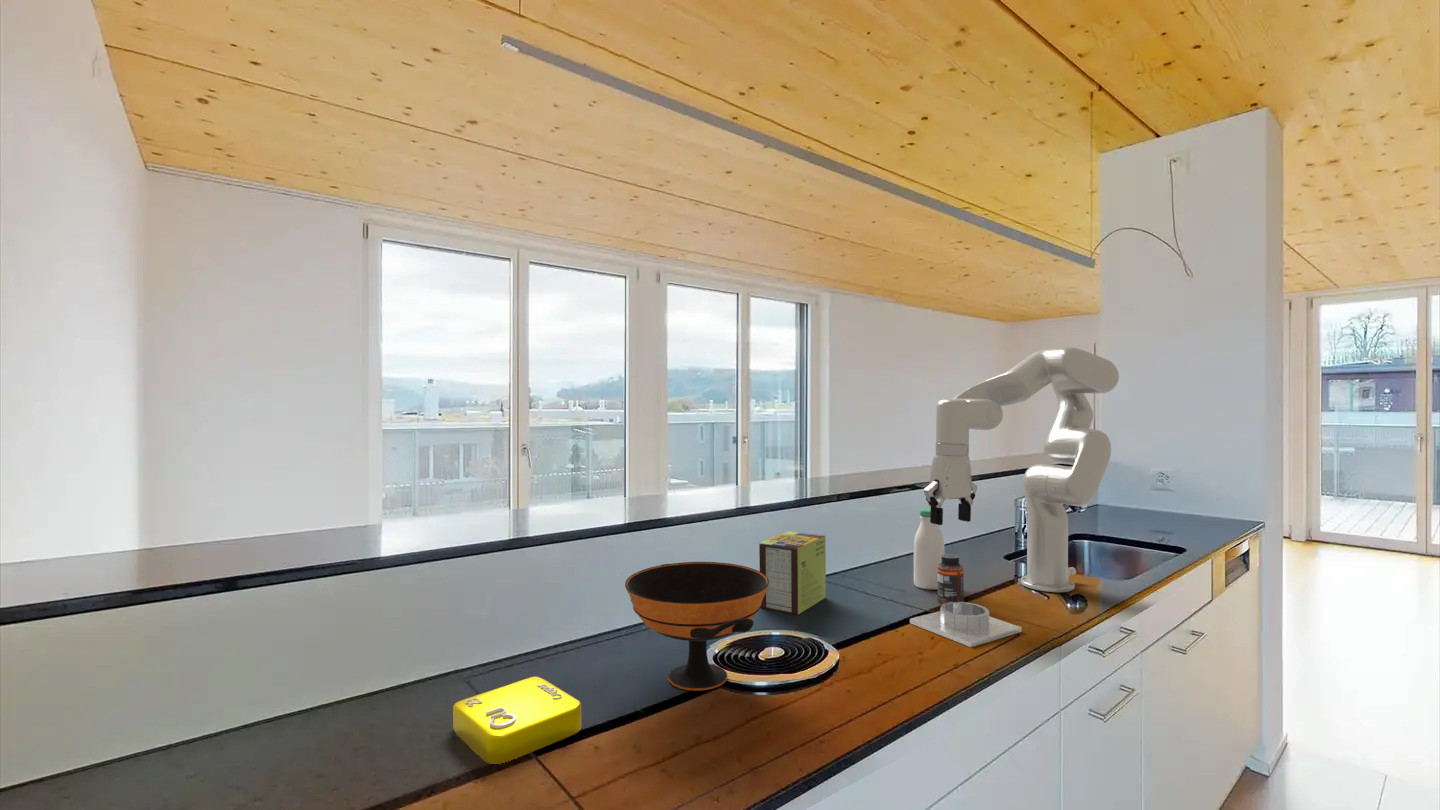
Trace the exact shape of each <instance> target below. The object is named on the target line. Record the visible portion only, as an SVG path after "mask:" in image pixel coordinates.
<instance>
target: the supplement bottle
mask: <svg viewBox="0 0 1440 810" xmlns="http://www.w3.org/2000/svg"><path fill="white" fill-rule="evenodd" d="M941 560H942V562H941V563H940V564H939V565H938V589H937V600H938V602H939V603H940V604H941V605H942V604H945V603H949V602H965V594H964V593H965V589H964V588H965V586H964V584H965V582H964V579H965V578H964V567H963V565H961V563H960V556H959V555H956V554H954V553H953V554H951V553H945V554H943V555H942V559H941Z"/></svg>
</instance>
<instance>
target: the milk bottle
mask: <svg viewBox="0 0 1440 810" xmlns="http://www.w3.org/2000/svg"><path fill="white" fill-rule="evenodd" d="M930 513H931V508H920V510H919V519H920V523H919V526H918V529H917V530H916V532H915V535H914V540H913V584H914V586H915V587H916V588H920V589H922V590H930V591H931V590H933V591H934V590H935V591H936V590H937V591H938V565H939V564H940V563H941V562H942V560H941V559H942V555H943V554H946V553H945V539H944V536H943V533H942V531H941V529H940V527H939V526H940V525H937V524H932V523H931V522H930Z"/></svg>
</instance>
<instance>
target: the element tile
mask: <svg viewBox="0 0 1440 810" xmlns="http://www.w3.org/2000/svg"><path fill="white" fill-rule="evenodd" d="M452 717H453V718H452V719H453V720H452V722H453V723H452V725H453V727H452V728H453V729H454V731H455V732H456V733H457V735H459V736H460V738H461V739H462V740H463V741H464V742H465V743H466V744H467V745H468V746H469V747H470V748H471V751H472V752H474V753H475V754H476V755H477V756H478V755H479V756H480V757H481V758H480V757H479V756H478V757H479V758H480V759H482V760H483V761H484V762H485V761H486V762H487V764H488V763H490V764H489V765H491V764H499V765H502V764H501V763H504V764H506V763H505V762H507V763H509V762H511V760H512V761H514V760H516V759H518V757H519V758H520V757H523V755H524V756H526V755H529V754H531V753H533V752H535V751H538V750H540V749H544V748H545V747H547V746H550V745H552V744H554V743H557V742H560V741H562V740H564V739H567V738H569V737H571V736H573V735H576V734H577V733H579V732H580V731H581V729H582V703H581V701H580V700H579V699H577V698H575V697H574V696H572V695H571V694H569V693H567V692H565V691H564V690H563V689H561V688H559V687H557V686H556V685H554V684H552V683H551V682H550V681H548V680H546V679H545V678H542V677H539V676H532V677H528V678H525V679H522V680H519V681H515V682H513V683H509V684H508V685H504V686H500V687H497V688H495V689H492V690H489V691H486V692H482V693H480V694H476V695H474V696H471V697H468V698H467V697H466V698H464V699H462V700H459V701H457V702H455V703H454V705H453V706H452ZM453 729H452V730H453ZM461 739H460V740H461ZM462 740H461V741H462ZM463 741H462V742H463ZM464 742H463V743H464ZM465 743H464V744H465ZM466 744H465V745H466ZM467 745H466V746H467ZM468 746H467V747H468ZM469 747H468V748H469ZM470 748H469V749H470ZM513 759H514V760H513ZM508 761H509V762H508ZM486 762H485V763H486Z"/></svg>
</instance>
